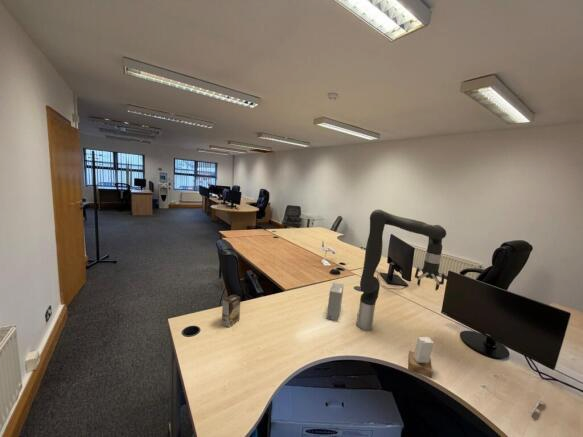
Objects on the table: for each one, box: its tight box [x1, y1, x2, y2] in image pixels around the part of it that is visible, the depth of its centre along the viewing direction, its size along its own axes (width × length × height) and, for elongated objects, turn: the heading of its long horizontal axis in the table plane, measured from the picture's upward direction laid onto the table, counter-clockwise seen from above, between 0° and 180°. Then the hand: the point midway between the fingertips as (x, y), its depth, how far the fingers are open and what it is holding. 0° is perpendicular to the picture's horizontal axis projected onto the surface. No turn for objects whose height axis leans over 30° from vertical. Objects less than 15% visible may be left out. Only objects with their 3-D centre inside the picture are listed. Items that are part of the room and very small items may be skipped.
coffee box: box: [221, 294, 241, 328], centre depth 144 cm, size 9×6×16 cm
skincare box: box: [413, 336, 435, 363], centre depth 119 cm, size 6×4×12 cm
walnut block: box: [407, 350, 433, 378], centre depth 121 cm, size 10×10×4 cm
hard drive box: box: [326, 281, 345, 322], centre depth 161 cm, size 16×8×20 cm, turn 161°
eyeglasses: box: [479, 373, 544, 417], centre depth 108 cm, size 15×18×4 cm
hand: (427, 287), depth 135 cm, fingers open, 8 cm apart
